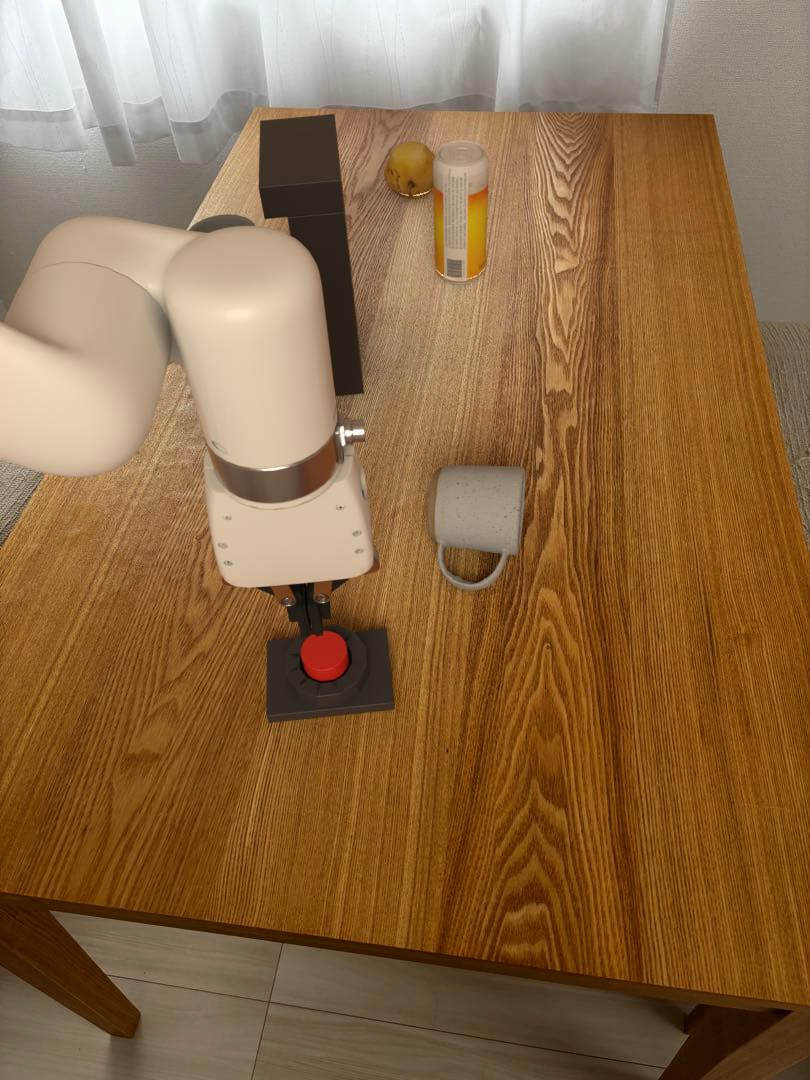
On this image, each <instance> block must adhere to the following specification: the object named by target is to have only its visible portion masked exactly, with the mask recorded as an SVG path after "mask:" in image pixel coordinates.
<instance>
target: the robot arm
mask: <svg viewBox="0 0 810 1080" xmlns="http://www.w3.org/2000/svg"><path fill="white" fill-rule="evenodd" d="M172 364H176V365H177V366H178V365H179V366H180V367H181V368H182V369H183V370H184V373H185V376H186V377H185V378H186V380H187V384H188V386H189V390H190V394H191V396H192V400H193V403H194V407H195V410H196V413H197V417H198V421H199V423H200V428H201V430H202V431H201V432H202V435H203V437H204V442H205V445H206V448H207V449H206V450H205V453H204V456H203V482H204V497H205V498H204V499H205V507H206V515H207V521H208V526H209V533H210V537H211V543H212V548H213V552H214V556H215V561H216V564H217V567H218V571H219V573H220V575H221V582H222V584H223V585H225V586H227V587H229V586H230V587H237V588H255V589H257V590H259V591H261V592H264V593H267V594H268V595H271V596H273V597H275V598H276V601H278V604H279V605H280V606H282V607H286V612H287V616H288V621H289V623H297V625H298V629H299V635H300V634H301V638H304V637H309V635H311V628H312V632H313V635H316V636H323V625H324V621H323V620H330V619H332V609H331V607H332V605H331V599H332V593H333V592H335V591H336V590H337V589H339V588H340V587H341V586H343V585H344V584H346V583H347V582H348V581H349V580H350V579H351V578H357V577H360V576H364V575H369V574H372V573H376V572H378V571H379V570H380V568H381V567H380V566H381V564H380V554H379V551H378V549H377V547H376V545H375V543H374V534H373V518H372V509H371V503H370V497H369V491H368V486H367V481H366V476H365V471H364V468H363V464H362V461H361V457H360V455H359V452H358V450H357V447H356V445H355V444H357V443H366V431H365V419H364V418H359V419H358V418H357V419H351V417H345V418H344V413H339V410H338V403H337V402H338V401H337V396H335V389H334V382H333V374H332V364H331V356H330V348H329V340H328V332H327V323H326V315H325V307H324V299H323V291H322V284H321V279H320V273H319V270H318V267H317V265H316V262H315V261H314V259H313V257H312V255H311V254H310V252H309V251H308V250H307V249H306V248H305V247H304V245H303V244H301V243H300V242H299V241H298V240H297V239H295V238H294V237H292V236H290V234H288V233H286V232H283V231H281V230H278V229H275V228H270V227H267V226H266V227H265V226H261V225H260V226H259V225H255V226H235V227H229V228H224V229H220V230H216V231H213V232H210V233H204V232H197V231H190V230H189V229H182V228H177V227H171V226H166V225H161V224H156V223H150V222H146V221H142V220H141V221H140V220H137V219H130V218H125V217H118V216H109V215H97V214H95V215H83V216H82V215H81V216H78V217H74V218H70V219H67V220H65V221H63V222H61V223H60V224H57V225H56V226H55V227H53V228H52V229H51V230H50V231H49V232H48V233H47V234H46V235H45V237H44V238H42V241H41V242H40V243H39V245H38V247H37V249H36V251H35V253H34V256H33V257H32V259H31V262H30V264H29V267H28V269H27V271H26V272H25V276H24V278H23V280H22V282H21V284H20V286H19V287H18V289H17V291H16V293H15V296H14V297H13V300H12V302H11V304H10V306H9V309H8V311H7V313H6V315H5V318H4V320H3V321H0V461H3V462H6V463H9V464H11V465H14V466H17V467H21V468H24V469H28V470H31V471H35V472H37V473H42V474H47V475H51V476H58V477H66V478H89V477H97V476H100V475H105V474H107V473H111V472H113V471H115V470H117V469H119V468H121V467H123V466H124V465H125V464H127V463H128V462H130V460H131V459H132V458H133V457H134V456H136V455H137V453H139V451H140V450H141V448H142V447H143V445H144V443H145V442H146V440H147V438H148V436H149V433H150V431H151V429H152V426H153V423H154V419H155V416H156V412H157V408H158V404H159V401H160V397H161V393H162V389H163V386H164V381H165V378H166V374H167V370H168V369H167V368H168V367H169V365H172Z"/></svg>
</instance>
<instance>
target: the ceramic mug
mask: <svg viewBox="0 0 810 1080" xmlns="http://www.w3.org/2000/svg"><path fill="white" fill-rule="evenodd" d="M525 488H526V470H525V468H524V467H523V466H517V465H515V466H512V465H511V466H510V465H509V466H507V465H506V466H505V465H471V464H470V465H466V464H451V465H444V466H440V467H438V468H437V469H436V470H435V471H434V472H433V474H432V475H431V480H430V484H429V492H428V502H427V531H428V536H429V538H430V539H431V540H432V541H433V543H435V544H437V545H438V548H437V560H438V565H439V566H438V567H439V569H440V573H442V575H443V577H444V578H445V580H447V581H448V583H450V584H451V585H453V586H454V587H456V588H458V589H461V590H465V591H480V590H484V589H486V588H488V587H490V586H491V585H492V584H493V583H495V582H496V581H497V580H498V578H499V577H500V576H501V574H502V572H503V570H504V568H505V565H506V563H507V560H508V557H509V556H517V555H518V554H519V552H520V544H521V540H522V530H523V522H524V509H525V494H526V493H525V492H526V489H525ZM446 548H455V549H465V550H474V551H481V552H486V553H493V554H500V555H501V558H500V560H499V562H498V563H497V565H496V567H495V569H494V570H493V571H492V573H491V574H489V575H488V576H487V577H485V578H483V579H482V580H481V581H479V582H473V581H468V580H465V579H463V578H461V577H460V576H459V575H454V574H453V573H452V572H450V571H448V569H447V567H446V566H445V565H446V564H445V558H444V557H445V556H444V554H445V549H446Z"/></svg>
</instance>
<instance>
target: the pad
mask: <svg viewBox="0 0 810 1080" xmlns="http://www.w3.org/2000/svg"><path fill="white" fill-rule="evenodd" d="M323 631H331V632H334V633H337V634H338V635H340V636H341V637H342V638H343V639H344V641H345V643H346V646H347V651H348V657H349V663H348V667H347V669H346V670H345V672H344V673H343V674H342V675H341V676H339V677H338V678H336V679H334V680H331V681H318V680H315V679H313V678H312V677H310V676H309V675H308V674H307V673H306V671H305V669H304V665H303V661H302V658H301V648H302V645H303V643H304V642H305V640H306V639H307V638H308V637H304V638H301V634H300V633H299V634H298V635H297V636H295V637H290V638H280V639H271V640H267V641H266V701H265V702H266V713H265V716H266V719H267V722H268V723H269V724H273V723H281V722H290V721H292V722H293V721H301V720H310V719H319V718H320V719H321V718H328V717H338V716H339V717H340V716H348V715H356V714H365V713H366V714H367V713H375V712H385V711H386V712H387V711H393V710H395V701H394V700H395V699H394V690H393V689H394V688H393V678H392V669H391V658H390V647H389V640H388V639H389V637H388V630H387V628H377V629H367V630H358V631H354V630H353V629H350V628H347V627H344V626H341V625H338V624H336V623H331V624H323ZM312 634H313V632H312V627H311V635H312ZM311 635H309V636H311Z"/></svg>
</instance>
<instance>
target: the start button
mask: <svg viewBox="0 0 810 1080" xmlns="http://www.w3.org/2000/svg"><path fill="white" fill-rule="evenodd" d="M301 658H302V661H303V665H304V669H305V671H306V673H307V674H308V675H309V676H310V677H312V678H313V679H315V680H318V681H331V680H334V679H336V678H338V677H339V676H341V675H342V674H343V673H344V672H345V670H346V669H347V667H348V663H349V657H348V651H347V646H346V643H345V641H344V639H343V638H342V637H341V636H340V635H338V634H337V633H334V632H331V631H323V636H316V635H313V634H312V635H311V636H309V637H308V638H307V639H306V640H305V642H304V643H303V645H302V648H301Z"/></svg>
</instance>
